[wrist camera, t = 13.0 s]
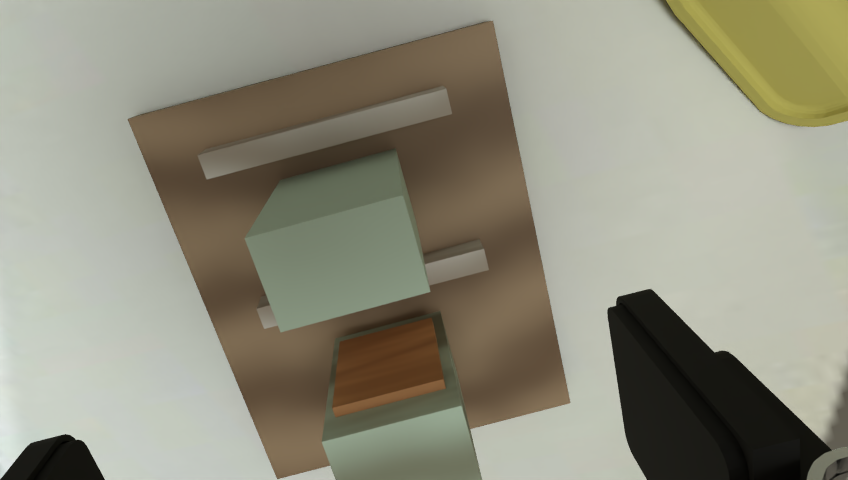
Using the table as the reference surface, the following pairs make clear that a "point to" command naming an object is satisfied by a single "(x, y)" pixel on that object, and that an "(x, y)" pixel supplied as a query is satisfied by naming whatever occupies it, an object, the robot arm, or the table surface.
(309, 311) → the sage green box
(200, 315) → the table surface
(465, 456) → the wooden base board
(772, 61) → the plastic component
